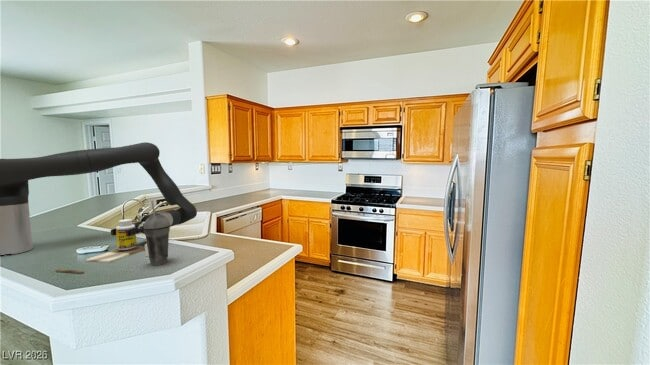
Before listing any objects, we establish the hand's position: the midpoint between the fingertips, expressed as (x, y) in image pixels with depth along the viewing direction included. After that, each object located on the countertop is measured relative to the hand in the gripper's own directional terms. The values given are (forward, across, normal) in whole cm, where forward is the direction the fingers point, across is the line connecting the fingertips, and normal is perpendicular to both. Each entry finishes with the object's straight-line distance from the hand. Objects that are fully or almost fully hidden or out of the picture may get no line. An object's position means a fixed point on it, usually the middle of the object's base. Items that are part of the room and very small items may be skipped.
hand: (119, 233), depth 92 cm
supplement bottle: (-2, 0, +6) cm, 7 cm away
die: (-1, +12, +7) cm, 14 cm away
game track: (+5, 0, +7) cm, 9 cm away
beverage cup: (+6, +20, +7) cm, 22 cm away
